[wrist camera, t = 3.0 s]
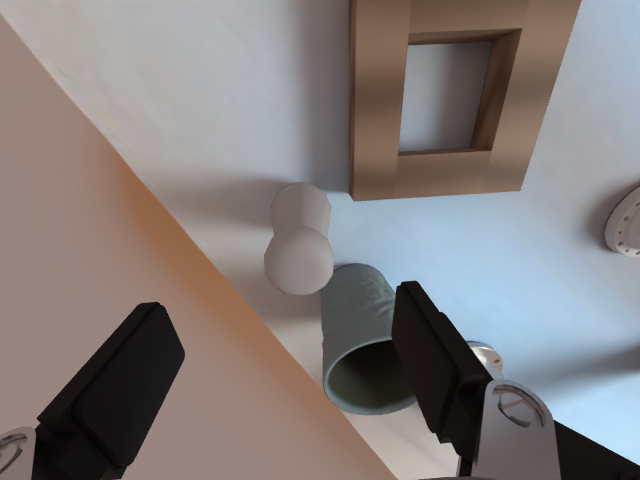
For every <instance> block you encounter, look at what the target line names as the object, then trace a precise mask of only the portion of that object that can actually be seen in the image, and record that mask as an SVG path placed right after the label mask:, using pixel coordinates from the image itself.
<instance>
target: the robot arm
mask: <svg viewBox="0 0 640 480" xmlns="http://www.w3.org/2000/svg"><path fill="white" fill-rule="evenodd" d="M391 337H392V341H393V343H394V346H395V348H396V351H397V353H398V356H399V358H400V360H401V363H402V365H403V368H404V370H405V372H406V375H407V377H408V380H409V382H410V385H411V387H412V389H413V392H414V394H415V397H416V399H417V401H418V404H419V406H420V409H421V411H422V413H423V416H424V418H425V421H426V423H427V426H428V428H429V430H430V431H431V432H432V433H436V435H437V437H438V440H439V442H440V444H442V443H452V445H453V447H454V449H455V451H456V453H457V454H458V455H459V460H458V466H457V471H456V477H442V478H431V479H419V480H640V466H639V465H637V464H635V463H634V462H632V461H630V460H628V459H626V458H624V457H622V456H620V455H619V454H617V453H615V452H613V451H611V450H609V449H607V448H605V447H604V446H602V445H600V444H598V443H596V442H594V441H592V440H591V439H589V438H587V437H585V436H583V435H581V434H579V433H577V432H576V431H574V430H572V429H570V428H568V427H566V426H564V425H563V424H561V423H559V422H557V421H555V420H553V417H552V414H551V413H550V411H549V409H548V408H547V406H546V405H545V404H544V403H543V401H542V400H541V399H540V398H539V397H538V396H537V395H535V394H534V393H533V392H531V391H530V390H529V389H527V388H526V387H524V386H522V385H520V384H518V383H516V382H513V381H510V380H505V379H504V377H503V376H502V375H501V374H500V373H501V370H502V367H503V362H502V359H501V357H500V356H499V354H498V353H497V352H496V351H495V350H494V349H493V348H492V347H490V346H488V345H486V344H483V343H476V342H467V343H466V341H465V340H464V339H463V337H462V336H461V335H460V333H459V332H458V331H457V329H456V328H455V326H454V325H453V324H452V322H451V321H450V320H449V318H448V317H447V316H446V315H445V314H444V313H442V312H439V310H438V309H437V308H436V306H435V305H434V303H433V302H432V301H431V299H430V298H429V297H428V295H427V294H426V292H425V291H424V290H423V288H422V287H421V286H420V284H419V283H418V282H417V281H406V282H402V283H401V285H400V286H397V289H396V297H395V305H394V313H393V321H392V329H391ZM184 357H185V352H184V349H183V347H182V344H181V342H180V340H179V338H178V336H177V333H176V331H175V329H174V327H173V324H172V322H171V320H170V318H169V315H168V313H167V311H166V309H165V307H164V306H163V305H160V303H158V302H150V303H141V304H139V305H138V306H137V307H136V308H135V309H134V310H133V311H132V312H131V313H130V315H129V316H128V317H127V318H126V319H125V320H124V321H123V322H122V324H121V325H120V326H119V327H118V328H117V329H116V330H115V331H114V332H113V334H112V335H111V336H110V337H109V338H108V339H107V340H106V341H105V342H104V344H103V345H102V346H101V347H100V348H99V349H98V350H97V351H96V353H95V354H94V355H93V356H92V357H91V358H90V359H89V360H88V361H87V363H86V364H85V365H84V366H83V367H82V368H81V369H80V370H79V371H78V373H77V374H76V375H75V376H74V377H73V378H72V380H70V382H69V383H68V384H67V385H66V386H65V387H64V388H63V389H62V390H61V392H60V393H59V394H58V395H57V396H56V397H55V398H54V399H53V401H52V402H51V403H50V404H49V405H48V406H47V407H46V408H45V409H44V411H43V412H42V413H41V414H40V415H39V416H38V417H37V419H38V421H39V422H40V424H39V425H38V426H37V428H36V429H33V428H31V427H20V428H16V429H13V430H11V431H8V432H7V433H4V434H2V435H0V480H116V479H121V478H122V476H123V474H124V472H125V470H126V468H127V466H129V465H130V464H131V463H132V462H133V461H134V459H135V457H136V456H137V454H138V451H139V450H140V448H141V446H142V444H143V442H144V439H145V438H146V435H147V433H148V431H149V429H150V427H151V425H152V423H153V421H154V419H155V417H156V415H157V413H158V411H159V409H160V407H161V405H162V403H163V401H164V399H165V397H166V395H167V393H168V391H169V389H170V387H171V385H172V383H173V381H174V379H175V377H176V375H177V373H178V371H179V369H180V367H181V365H182V363H183V361H184Z"/></svg>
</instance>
